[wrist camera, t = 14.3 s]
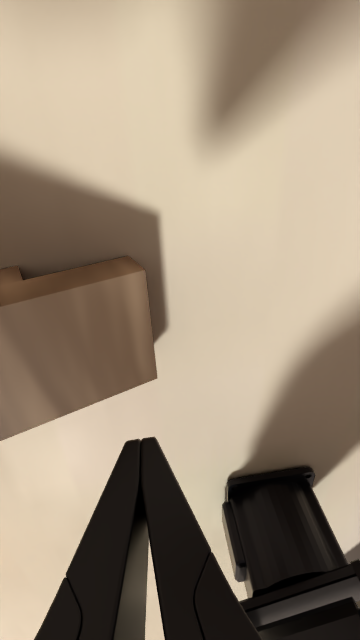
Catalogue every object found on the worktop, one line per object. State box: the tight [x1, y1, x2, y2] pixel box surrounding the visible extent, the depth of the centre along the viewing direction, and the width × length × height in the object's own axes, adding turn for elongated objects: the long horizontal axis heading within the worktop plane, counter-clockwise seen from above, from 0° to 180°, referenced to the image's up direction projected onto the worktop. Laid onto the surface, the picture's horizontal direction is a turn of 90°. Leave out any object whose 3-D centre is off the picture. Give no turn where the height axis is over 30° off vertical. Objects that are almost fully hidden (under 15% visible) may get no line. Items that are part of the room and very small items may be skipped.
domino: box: [0, 256, 157, 441], centre depth 13 cm, size 2×6×10 cm
